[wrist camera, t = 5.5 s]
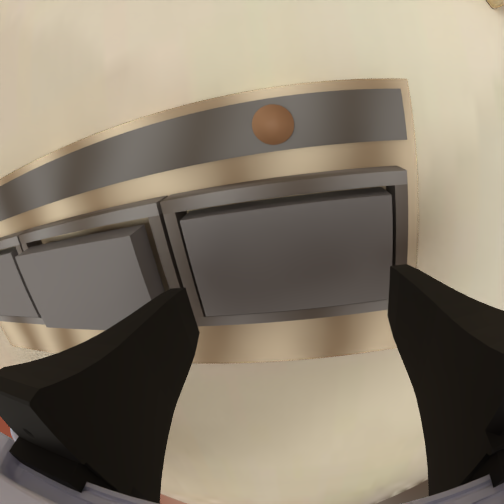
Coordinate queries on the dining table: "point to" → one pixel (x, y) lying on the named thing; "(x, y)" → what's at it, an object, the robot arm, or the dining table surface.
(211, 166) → the switch unit
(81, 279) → the key middle
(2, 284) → the key
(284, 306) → the key
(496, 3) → the coffeecake box
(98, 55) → the dining table surface
